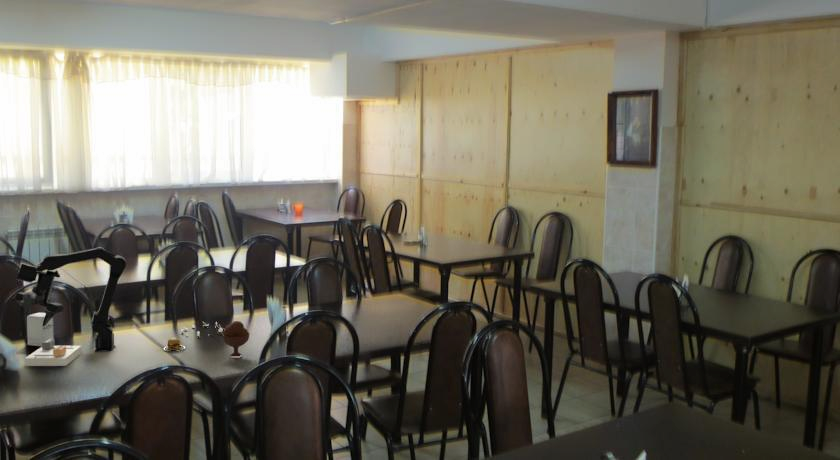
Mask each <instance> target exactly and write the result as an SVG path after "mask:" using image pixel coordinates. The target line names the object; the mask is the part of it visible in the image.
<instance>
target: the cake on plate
mask: <svg viewBox="0 0 840 460" xmlns="http://www.w3.org/2000/svg"><path fill="white" fill-rule="evenodd" d="M166 343H167V346H165V347H163V351H165V352H167V351H171V350H176V351H177V352H181V351H180V350H181V347H180V346H183V347H184V348H183V349H184V350H185V349H186V346H185V345H182V344H181V339H179V338H178V337H170V338H169V339H168V340H167V342H166ZM166 347H167V350H166V349H165V348H166ZM178 349H179V350H178Z"/></svg>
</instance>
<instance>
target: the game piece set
mask: <svg viewBox="0 0 840 460" xmlns="http://www.w3.org/2000/svg"><path fill="white" fill-rule="evenodd" d="M202 323H203V325H202V327H203V326H210V325H209V323H207V324H206V322H204V321H202ZM216 326H217V327H219V329H217V330H218V331H217V332H221V333H223V332H224V331H223V329H224V328H223V327H221V324H218V322H217V321H216V322H215V327H216ZM192 328H195V329H196V324H192V326H191V329H192ZM184 330H186V331H188V330H189V328H187V327H185V325H182V329H180V334H181V333H184V332H185V331H184ZM209 335H210V333H209V334H208V336H209ZM186 336H188V337H189V336H190V335H189V334H188V332H187V333H186V334H185V337H186ZM197 336H199V337H201V336H200V331H199V330H198V331H196V337H197Z"/></svg>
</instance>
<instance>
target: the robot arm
mask: <svg viewBox="0 0 840 460" xmlns="http://www.w3.org/2000/svg"><path fill="white" fill-rule="evenodd" d="M93 259H100V260H102V261H103V262H104V263H106V264H107V265H109V273H108V274H109V275H108V280H107V282H106V286H105V288H104V293H103V296H102V299H101V302H100V306H99V309H98V310H97V311H96V310H95V311H93V315H92V318H91V319H90V324H91V327H92V330H93V332H95V333H97V334H96V335H95V336H96V337H95V339H94V347H95V349H94V351H97V352H98V351H101V352H102V351H103V352H104V351H106V352H107V351H110V352H111V351H113V349H114V348H116V345H115V332H114V330H113V326H112V325H111V324H110V323H109V313H110V308H111V305H112V302H113V299H114V295H115V292H116V289H117V286H118V282H119V280H120V277H121V276H122V274H123V272H124V271H125V269H126V266H127V262H126V259H125V257H123V256H122V255H116V254H114V253H112V252H111V251H109V250H106V249H105V248H104V247H102V246H98V247H95V248H90V249H86V250H85V249H84V250H80V251H76V252H71V253H51V254H47V255H45V256H44V258H43V260H42V261H41V262H40V263H38V264H37V265H36V266H34V265H31V264H27V263H24V262H22V263H21V265H20V268H19V271H18V273H17V276H16V280H17V281H20V282H21V281H22V282H25V283H30V284H32V283H33V282H36V284H35V286H33V288H32V289H31V291H28V292H25V291H21V292H16V293H15V294H14V298H13V299H14V300H15V301H16V303H18V305H19V306H20V311H21V313H20V314H21V319H22V320H25V319H27V316H28V313H29V310H30V307H31V306H35V305H39V306H42V307H45V308H46V310H44V311H45V312H44V313H46V315H45V318H44V321H43V326H45V325H46V324H47V323H48V322H49V321H50V319H51V318H52V317H53V318H54V316H56V315H57V314H59V313H61V312H64V310H65V308H64V304H61V303H59V302H54V301H53V302H50V301H51V299H50V295H51V293H53V290H54V289H53V284H54V281H55V280H54V279H55V278H60V277H61V274H60V273H59V270H58V269H59V268H62V267H64V266H66V265H70V264H74V263H80V262H83V261H84V262H85V261H88V260H93ZM54 270H55V271H54Z"/></svg>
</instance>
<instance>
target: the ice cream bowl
mask: <svg viewBox="0 0 840 460" xmlns="http://www.w3.org/2000/svg"><path fill="white" fill-rule="evenodd" d="M223 329H224V331H223V332H222V333H221V335H222V339H223V342H224V343H225V345H228V346H229V347H232V348H233V353H231V354H229V355H230V356H240V355H241V354H242V353H240V352H239V348H241V347H242V346H244V344H246V343H247V342H248V341H249V339H250V332H249V331H248V329H247V328H245V325H244V324H243V323H242V322H241V321H239V320H235V321H233V322H231V323H230V324H228V325H226V326H225V328H223Z"/></svg>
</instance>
